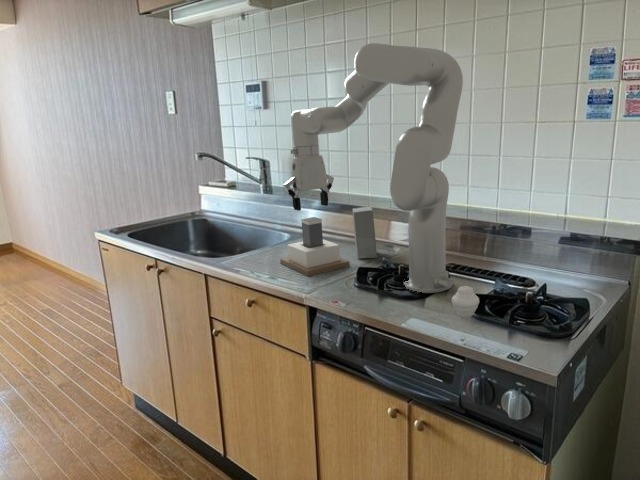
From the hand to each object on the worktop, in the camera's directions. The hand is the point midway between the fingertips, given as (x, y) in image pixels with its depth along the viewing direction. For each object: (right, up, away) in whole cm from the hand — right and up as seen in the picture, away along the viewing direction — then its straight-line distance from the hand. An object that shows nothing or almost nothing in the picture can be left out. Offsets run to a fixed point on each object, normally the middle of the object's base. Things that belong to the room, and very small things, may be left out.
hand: (311, 207), depth 157 cm
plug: (+1, -12, +3) cm, 13 cm away
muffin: (+36, -27, -41) cm, 61 cm away
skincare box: (+18, -15, +11) cm, 26 cm away
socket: (+1, -18, +5) cm, 18 cm away
